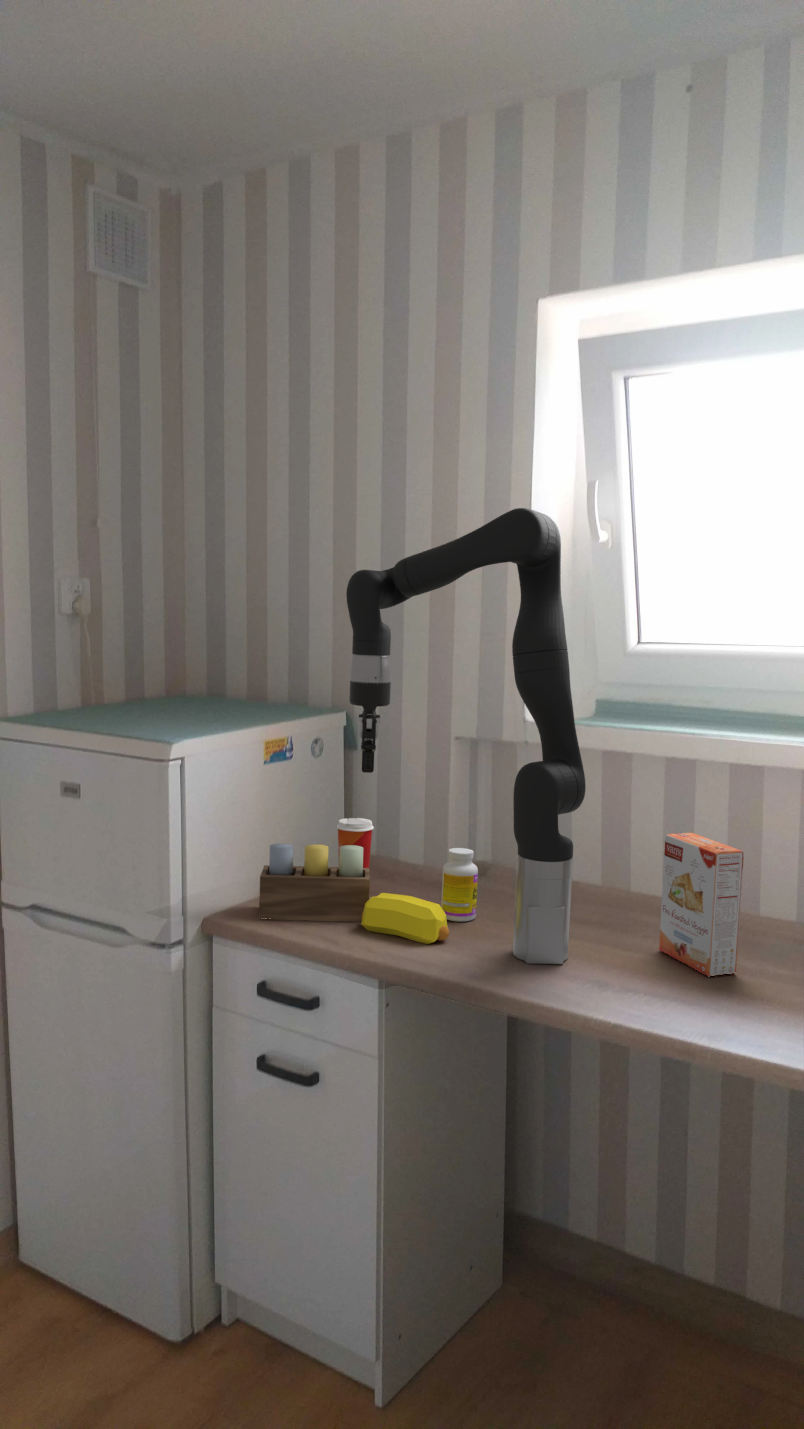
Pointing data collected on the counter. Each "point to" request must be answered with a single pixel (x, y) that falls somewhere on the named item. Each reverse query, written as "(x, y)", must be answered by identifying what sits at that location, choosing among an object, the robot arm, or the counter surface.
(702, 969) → the cracker box
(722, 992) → the counter surface
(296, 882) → the wooden compartment holder
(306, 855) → the button mustard
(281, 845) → the blue-grey cylinder
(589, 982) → the counter surface
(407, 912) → the yellow toy banana
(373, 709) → the robot arm
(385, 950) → the counter surface
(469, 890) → the supplement bottle
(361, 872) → the button sage
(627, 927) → the counter surface
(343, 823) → the paper cup
